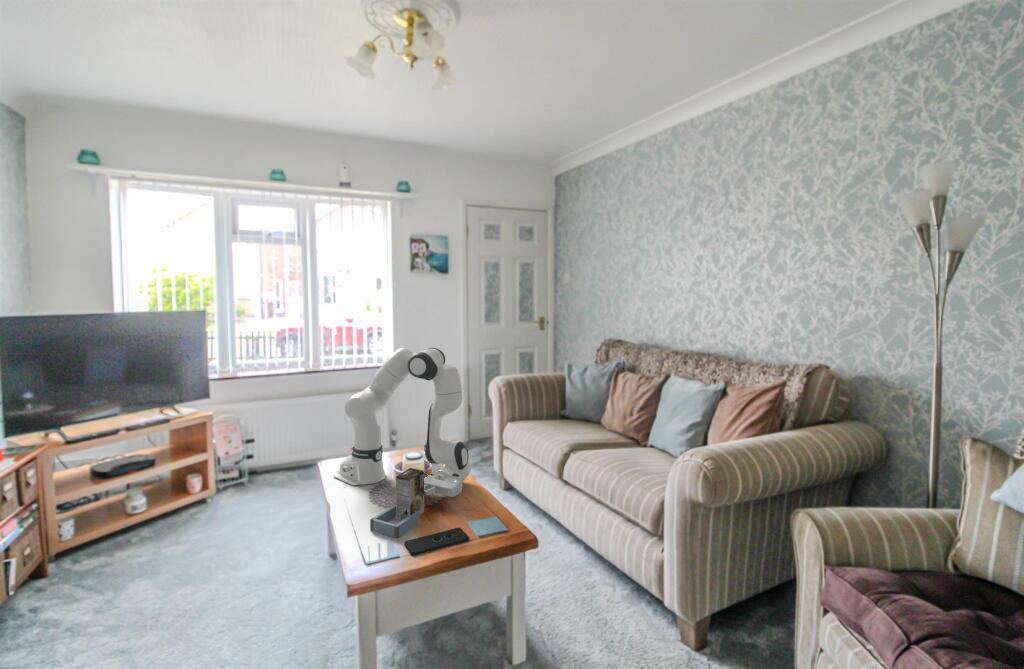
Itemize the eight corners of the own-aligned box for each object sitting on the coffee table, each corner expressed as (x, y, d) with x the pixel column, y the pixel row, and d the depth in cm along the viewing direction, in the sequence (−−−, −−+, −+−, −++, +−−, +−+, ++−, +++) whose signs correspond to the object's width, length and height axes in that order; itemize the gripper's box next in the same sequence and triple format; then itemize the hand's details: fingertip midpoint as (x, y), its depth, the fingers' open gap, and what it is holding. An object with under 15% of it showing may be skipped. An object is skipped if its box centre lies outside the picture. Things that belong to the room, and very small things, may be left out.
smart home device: (470, 537, 161) (411, 552, 151) (470, 542, 161) (411, 558, 151) (459, 526, 168) (403, 540, 158) (459, 531, 168) (403, 545, 158)
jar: (446, 472, 220) (446, 446, 219) (430, 476, 215) (430, 450, 214) (436, 466, 227) (436, 441, 226) (420, 470, 222) (420, 444, 221)
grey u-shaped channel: (370, 530, 167) (370, 519, 166) (393, 515, 177) (393, 505, 177) (396, 538, 162) (396, 527, 161) (419, 523, 173) (419, 512, 172)
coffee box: (410, 508, 184) (410, 467, 182) (424, 512, 181) (424, 470, 179) (395, 519, 175) (395, 475, 174) (410, 522, 173) (410, 478, 171)
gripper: (422, 467, 200) (401, 479, 188) (465, 477, 191) (445, 489, 179) (422, 482, 201) (401, 495, 189) (465, 492, 192) (445, 506, 180)
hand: (423, 492), depth 184 cm, fingers closed
